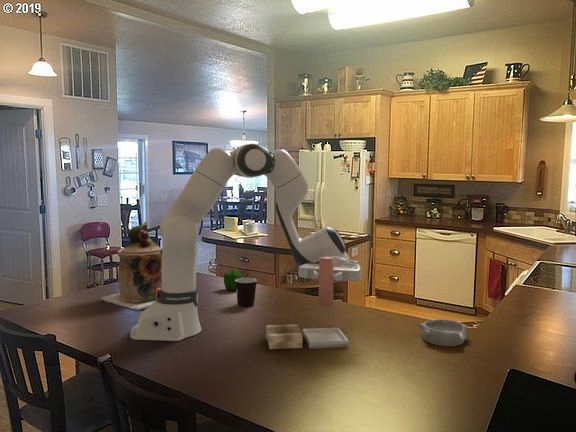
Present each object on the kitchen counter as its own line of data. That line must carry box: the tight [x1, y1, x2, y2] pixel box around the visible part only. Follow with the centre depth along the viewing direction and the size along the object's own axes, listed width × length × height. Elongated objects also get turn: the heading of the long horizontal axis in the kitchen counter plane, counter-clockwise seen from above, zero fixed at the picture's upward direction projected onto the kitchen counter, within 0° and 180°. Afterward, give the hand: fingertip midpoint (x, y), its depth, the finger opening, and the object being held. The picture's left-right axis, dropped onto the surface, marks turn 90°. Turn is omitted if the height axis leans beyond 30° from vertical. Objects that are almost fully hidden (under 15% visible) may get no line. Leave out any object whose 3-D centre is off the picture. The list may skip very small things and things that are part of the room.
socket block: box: [265, 323, 304, 350], centre depth 147 cm, size 10×10×4 cm
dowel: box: [318, 257, 334, 308], centre depth 147 cm, size 4×4×15 cm
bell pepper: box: [223, 268, 243, 292], centre depth 211 cm, size 8×8×10 cm
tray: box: [302, 327, 349, 350], centre depth 149 cm, size 12×12×2 cm
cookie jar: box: [101, 221, 162, 311], centre depth 193 cm, size 25×25×32 cm
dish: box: [419, 318, 468, 347], centre depth 151 cm, size 14×14×5 cm
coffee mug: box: [235, 277, 258, 308], centre depth 189 cm, size 12×9×10 cm
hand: (325, 277), depth 146 cm, fingers closed on dowel, 4 cm apart
